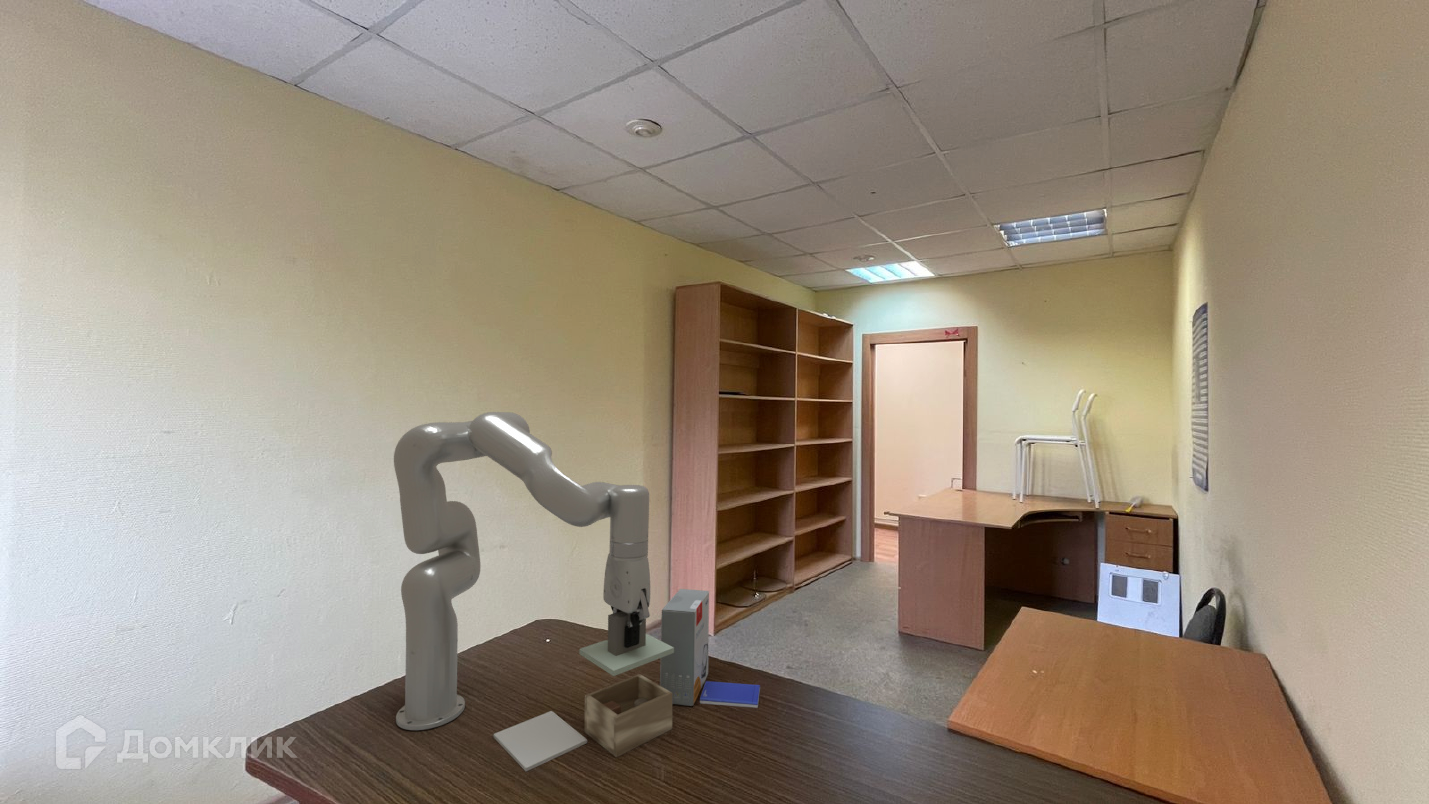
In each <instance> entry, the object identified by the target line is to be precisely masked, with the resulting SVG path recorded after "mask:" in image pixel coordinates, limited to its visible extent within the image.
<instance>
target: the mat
mask: <svg viewBox="0 0 1429 804" xmlns="http://www.w3.org/2000/svg"><path fill="white" fill-rule="evenodd" d="M493 739H494V740H495V741H496V742H497V743H498V744H499V745H500V746H501V747H502V749H504V750H505V751H506V753H508V754H509V756H510V757H511V758H512V759H513V760H514V761H515V762H516V763H517V764H518V765H519V766H520V768H522V769H523V771H525V772H529V771H530V770H532V769H535V768H536V767H539V766H541V765H543V764H545V763H547V762H549V761H552V760H554V759H556V758H559V757H560V756H562V755H564V754H565V755H566V754H567V753H569V752H571V751H573V750H575V749H578V748H579V747H581V746H584V745H585V744H587V743H588V739H587V738H586V737H585V736H583V735H582V734H581V733H580V732H579V731H578V730H576V729H575V728H573V727H572V726H571V725H570V724H569V723H567V722H566V721H564V720H563V719H562V718H561V717H560V716H558V715H557V713H555V712H554V711H553V710H550V711H547V712H545V713H543V714H539V715H538V716H534V717H533V718H530V719H527V720H525V721H523V722H520V723H518V724H516V725H515V724H514V725H512V726H510V727H508V728H505V729H502V730H500V731H498V732H495V733H493Z"/></svg>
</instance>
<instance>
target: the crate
mask: <svg viewBox="0 0 1429 804" xmlns="http://www.w3.org/2000/svg"><path fill="white" fill-rule="evenodd" d="M671 730H673V704H672V692H670V691H668V690H666V689H665V688H663V687H661V686H660V684H657V683H656V682H654V681H652V680H651V679H649V678H647V677H646V676H644V675H642V674H641V673H638V674H635V675H633V676H631V677H628V678H626V679H623V680H620V681H618V682H615V683H613V684H611V685H610V684H609V685H607V686H605V687H603V688H600V689H598V690H595V691H593V692H590V693H587V694H585V695H584V733H585V734H586V735H588V737H590V738H591V739H593V740H594V741H595V742H597V744H599V745H600V746H601V747H603V748H604V750H606V751H608V753H610V754H611V755H613V757H615V758H619V757H620V756H622V755H624V754H627V753H628V752H630V751H632V750H634V749H636V748H638V747H640V746H642V745H644V744H645V743H648V742H650V741H652V740H654V739H656V738H658V737H660V736H661V735H663V734H666V733H668V732H669V731H671Z"/></svg>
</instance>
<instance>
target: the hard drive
mask: <svg viewBox="0 0 1429 804" xmlns="http://www.w3.org/2000/svg"><path fill="white" fill-rule="evenodd" d="M703 685H704V686H703V687H702V688H703V689H702V691H701V694H700V696H699V697H700V698H699V703H700V704H704V705H719V706H731V707H745V708H756V709H758V707H759V701H760V692H761V685H760V684H747V683H735V682H734V683H733V682H723V681H722V682H721V681H710V680H705V682H704V684H703Z"/></svg>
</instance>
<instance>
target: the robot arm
mask: <svg viewBox="0 0 1429 804" xmlns="http://www.w3.org/2000/svg"><path fill="white" fill-rule="evenodd" d="M552 454H553V451H552V448H551V446H549V445H548V444H546V443H545V442H543V441H542V440H541V439H539V438H538V437H536V436H534V435H533V434H532V433H531V432H530V427H529V423H528V422H527V421H526V419H525V418H524V417H522V416H521V415H519V414H517V413H516V412H510V411H509V412H508V411H500V412H499V411H489V412H484V413H482V414H479V415H478V416H475V418H473V420H469V421H463V422H461V421H459V422H458V421H455V422H452V421H451V422H446V421H444V422H443V421H442V422H440V421H439V422H438V421H437V422H429V423H424V424H421V425H417V426H415V427H412V428H411V429H409V430H408V431H407V432H405V433H404V434H403V435H402V436H401V438H400V439H399V440H398V442H397V444H396V445H395V448H394V453H393V467H394V472H395V477H396V480H397V485H398V490H399V491H398V493H399V503H400V512H401V521H402V530H403V538H404V542H405V545H406V547H407V549H408V550H409V551H411V552H412V553H414V554H418V555H425V554H430V553H434V552H437V553H438V555H436V556H434V557H431V558H429V559H427V560H424V561H421V562H420V563H418V564H416V565H414V566H413V567H412V568H411V569H409V570H408V571H407V573H406V574H405V576H404V577H403V579H402V582H401V587H400V591H401V592H400V593H401V600H402V604H403V609H404V615H405V678H404V679H405V680H404V681H405V683H404V684H405V685H404V687H405V688H404V689H405V690H404V700H405V701H404V705H403V706H402V707H400V709H399V710H398V711H397V713H396V714H395V715H396V716H395V724H396V725H397V726H398V728H401V729H403V730H408V731H424V730H430V729H434V728H437V727H441V726H444V725H446V724H448V723H450V722H452V721H454V720H455V719H456V718H458V717H459V716H460V715H461V714H463V712H464V710H465V708H466V707H465V706H466V701H465V698H464V697H463V696H461V695H460V694H457V693H458V692H457V690H458V639H459V638H458V629H459V628H458V618H457V615H456V611H455V610H454V609H455V608H454V607H453V604H452V601H453V599H455V597H457V596H459V595H462V594H463V593H465V592H466V591H468V590H469V589H471V588H472V587H474V585H476V583H477V582H478V579H479V577H480V574H481V557H480V556H481V555H480V548H479V539H478V538H479V536H478V529H477V522H476V519H475V515H474V514H473V512H472V511H471V508H469V507H468V505H466V504H465V503H463V502H460V501H456V500H454V501H453V500H449V501H448V499H447V491H446V484H445V480H444V478H443V477H442V475H441V472H440V471H439V469H438V468H437V466H439V464H445V463H452V462H453V463H454V462H462V461H467V460H473V459H474V460H475V459H477V458H483V457H487V458H489V459H490V460H492V461H494V462H496V463H497V464H498V465H499V466H501V467H503V468H504V469H505V470H507V471H508V472H509V473H511V474H512V475H514V476H515V477H517V478H519V479H520V480H521V482H523V484H524V485H525V487H526V489H527V491H528V492H529V493H530V495H531V496H532V497H533V499H534V500H535V501H536V502H537V503H538V504H539V505H540V506H541V507H543V509H545V510H547V512H549V513H551V514H552V515H554V516H555V517H556V518H558V519H560V520H561V521H563V522H565V523H566V524H568V525H571V526H574V527H579V528H583V527H584V528H585V527H589V526H591V525H592V524H595V523H597V522H599V521H601V520H605V519H607V518H608V519H609V518H610V519H609V520H610V522H609V552H608V554H607V557H606V558H607V559H606V563H605V569H604V581H603V594H602V595H603V601H604V602H605V603H606V605H608V606H610V609H611V611H612V614H613V613H617V612H620V611H623V612H625V613H627V626H626V627H625V637H624V647H626V648H629V647H632V646H635V645H638V644H639V638H640V624H642V621H643V620H644V619H646V620H647V619H648V618H650V616H651V615H650V611H649V607H650V604H651V575H650V574H651V573H650V572H651V571H650V565H649V564H650V563H649V562H650V561H649V558H648V557H649V527H650V524H649V522H650V520H649V519H650V518H649V517H650V492H649V491H650V490H649V489H648V488H647V487H646V486H644V485H639V484H638V485H637V484H623V485H622V484H621V485H619V484H614V483H609V482H604V481H594V482H590V483H587V484H584V485H581V484H579V483H577V482H576V481H574V479H572V478H570V477H569V476H567V475H566V474H564V472H562V471H561V470H560V469H559V468H558V467H557V466H556V465H555V464H554V461H553V458H552ZM633 613H636V615H634V617H633V618H632V614H633Z"/></svg>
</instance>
